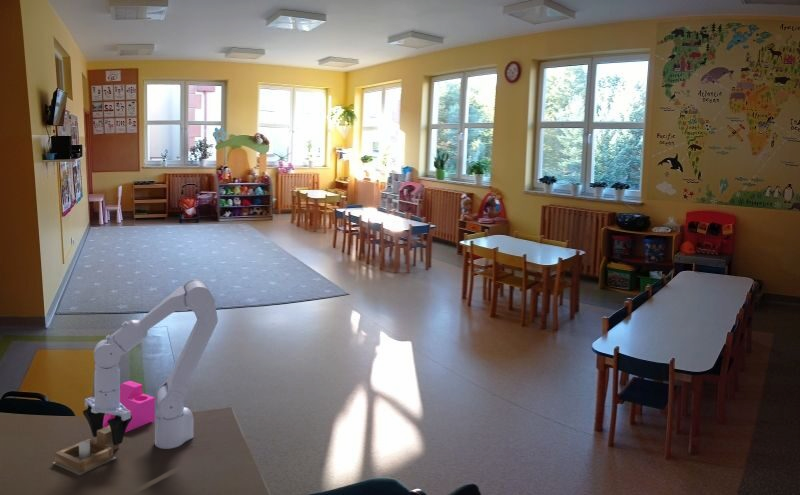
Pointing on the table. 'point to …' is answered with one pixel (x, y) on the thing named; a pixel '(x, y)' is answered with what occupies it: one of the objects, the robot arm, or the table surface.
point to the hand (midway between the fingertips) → (107, 439)
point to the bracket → (135, 405)
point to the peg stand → (83, 455)
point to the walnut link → (100, 449)
